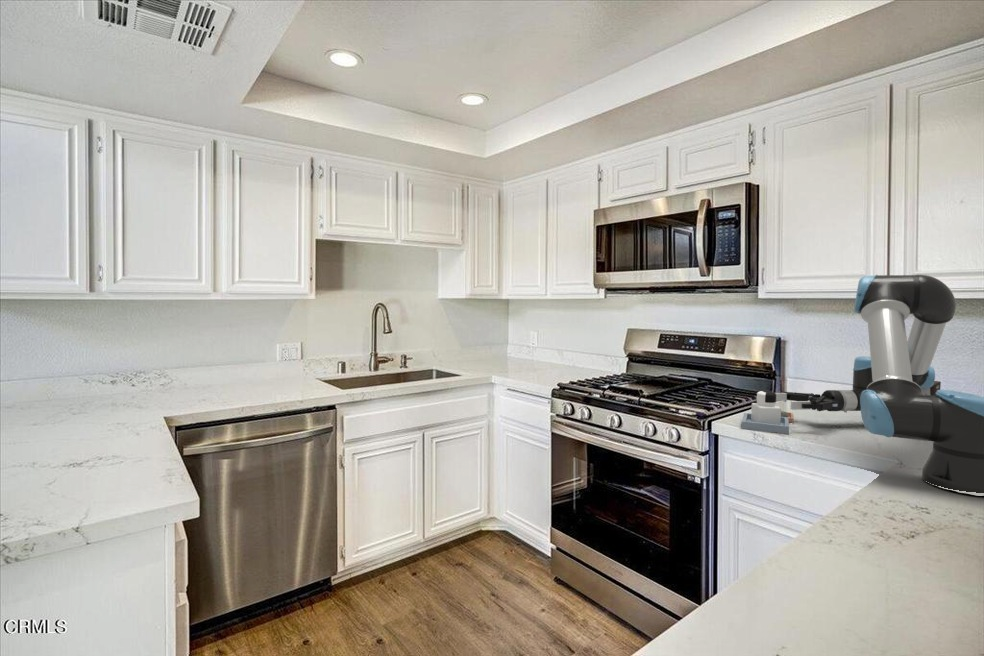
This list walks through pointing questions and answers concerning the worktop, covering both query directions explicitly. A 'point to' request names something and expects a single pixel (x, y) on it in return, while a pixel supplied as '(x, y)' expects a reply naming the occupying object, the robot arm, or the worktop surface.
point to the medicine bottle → (766, 409)
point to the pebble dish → (790, 417)
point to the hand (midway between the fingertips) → (779, 401)
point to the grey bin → (765, 425)
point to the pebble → (784, 414)
